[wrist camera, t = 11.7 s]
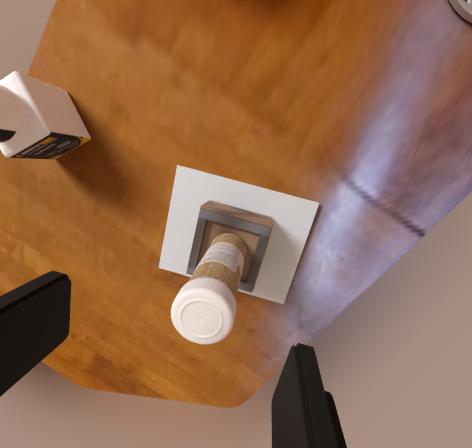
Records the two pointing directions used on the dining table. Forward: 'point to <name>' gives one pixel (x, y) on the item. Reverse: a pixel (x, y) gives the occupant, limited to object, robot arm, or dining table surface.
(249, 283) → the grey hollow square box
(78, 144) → the medicine bottle
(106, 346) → the dining table surface
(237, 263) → the sprinkles bottle
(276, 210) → the white rectangular board
